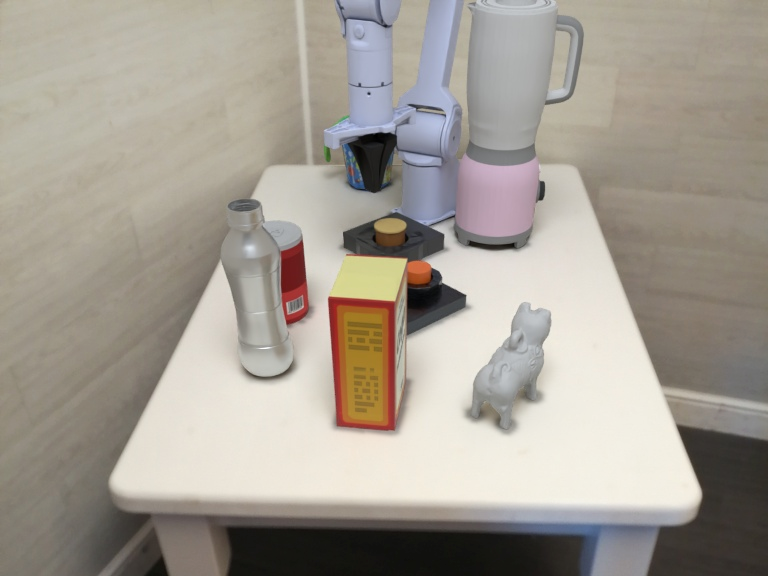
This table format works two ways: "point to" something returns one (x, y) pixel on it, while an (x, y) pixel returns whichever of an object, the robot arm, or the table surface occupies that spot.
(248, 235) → the plastic bottle
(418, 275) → the button
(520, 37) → the blender
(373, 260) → the baking soda box
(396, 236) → the coffee pod
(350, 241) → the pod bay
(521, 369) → the dog figurine
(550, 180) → the table surface
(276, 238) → the canned food
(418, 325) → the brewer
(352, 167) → the snack cup
